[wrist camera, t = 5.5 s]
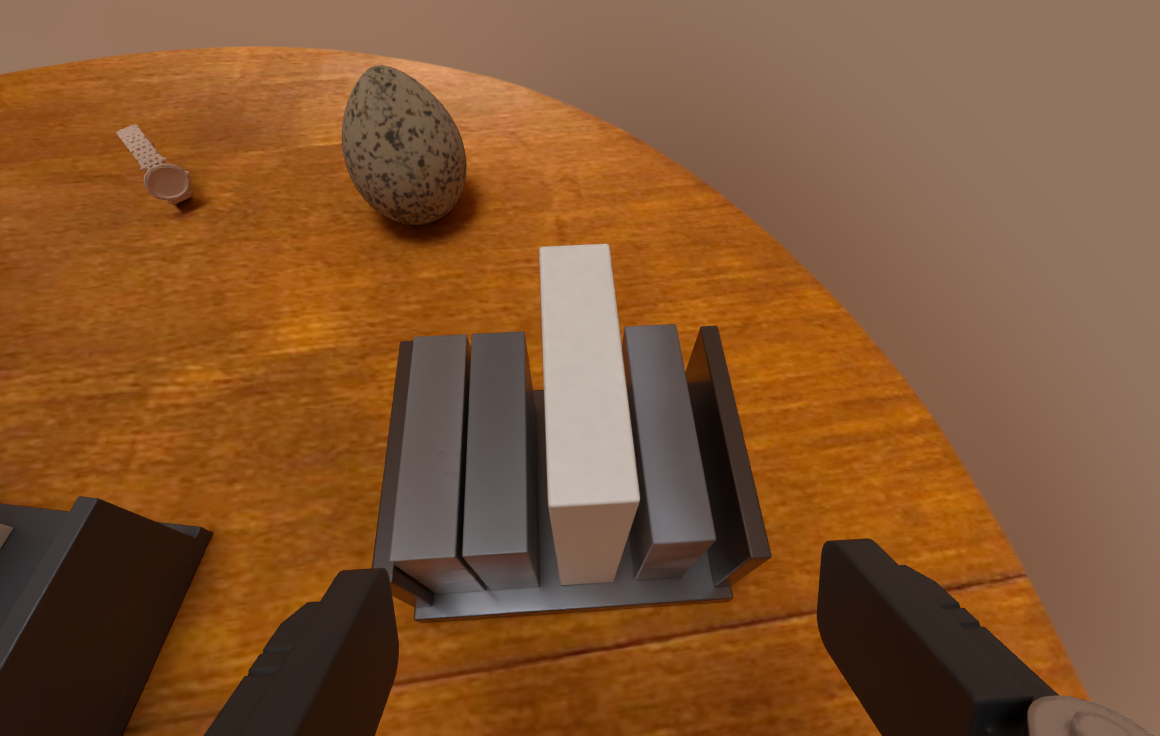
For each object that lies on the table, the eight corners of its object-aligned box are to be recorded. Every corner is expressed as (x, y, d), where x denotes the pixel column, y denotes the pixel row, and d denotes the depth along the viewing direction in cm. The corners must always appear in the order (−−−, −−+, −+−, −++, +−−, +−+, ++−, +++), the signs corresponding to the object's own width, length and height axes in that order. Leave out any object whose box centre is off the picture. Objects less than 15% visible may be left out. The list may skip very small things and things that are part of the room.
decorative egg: (430, 265, 35) (383, 127, 27) (348, 223, 37) (279, 81, 28) (496, 199, 38) (473, 56, 30) (417, 163, 40) (374, 19, 32)
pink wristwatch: (173, 221, 37) (120, 159, 33) (147, 184, 39) (94, 121, 35) (211, 202, 38) (165, 140, 34) (184, 167, 40) (137, 104, 35)
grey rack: (418, 623, 24) (356, 595, 18) (436, 403, 30) (394, 317, 23) (728, 601, 25) (785, 567, 18) (688, 390, 31) (720, 301, 24)
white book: (560, 585, 24) (547, 507, 14) (552, 405, 29) (538, 245, 19) (614, 582, 24) (641, 501, 14) (597, 402, 29) (608, 242, 19)
